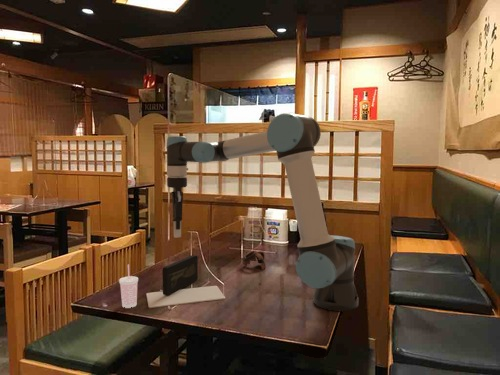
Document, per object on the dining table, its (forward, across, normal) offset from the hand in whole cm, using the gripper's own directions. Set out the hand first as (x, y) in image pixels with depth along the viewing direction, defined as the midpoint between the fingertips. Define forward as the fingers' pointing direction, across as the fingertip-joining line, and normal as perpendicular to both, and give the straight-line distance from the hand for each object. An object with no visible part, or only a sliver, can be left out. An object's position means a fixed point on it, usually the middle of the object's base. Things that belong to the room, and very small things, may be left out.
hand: (177, 236), depth 154 cm
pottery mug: (+18, +9, -36) cm, 41 cm away
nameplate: (+18, -8, 0) cm, 19 cm away
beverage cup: (+18, -19, +19) cm, 32 cm away
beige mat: (+18, -17, 0) cm, 25 cm away
